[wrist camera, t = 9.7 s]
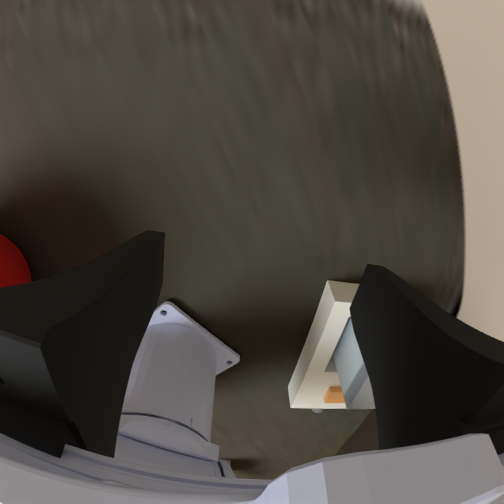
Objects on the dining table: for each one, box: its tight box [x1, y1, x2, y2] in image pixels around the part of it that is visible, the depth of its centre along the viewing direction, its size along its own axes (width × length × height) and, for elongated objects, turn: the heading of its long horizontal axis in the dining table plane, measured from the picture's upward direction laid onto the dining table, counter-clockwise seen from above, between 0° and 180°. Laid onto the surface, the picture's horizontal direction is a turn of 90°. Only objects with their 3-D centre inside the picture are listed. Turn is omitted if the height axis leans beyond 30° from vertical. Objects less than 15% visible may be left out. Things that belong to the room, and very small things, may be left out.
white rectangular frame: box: [288, 280, 359, 413], centre depth 25 cm, size 14×7×3 cm, turn 170°
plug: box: [333, 317, 375, 410], centre depth 22 cm, size 4×3×7 cm, turn 170°
